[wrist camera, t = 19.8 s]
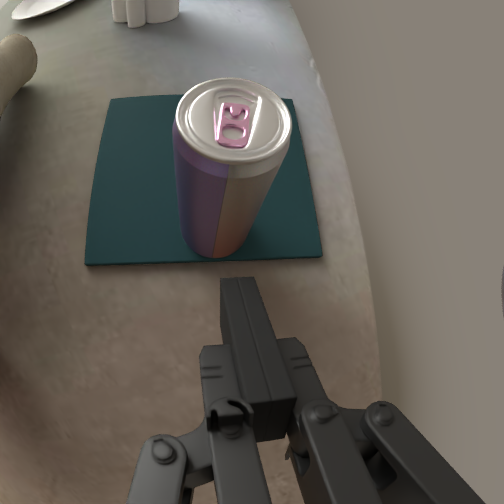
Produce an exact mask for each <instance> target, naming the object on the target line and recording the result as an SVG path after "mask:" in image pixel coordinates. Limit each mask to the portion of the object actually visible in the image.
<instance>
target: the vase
mask: <svg viewBox="0 0 504 504" xmlns="http://www.w3.org/2000/svg"><path fill="white" fill-rule="evenodd" d="M36 68H37V54H36V50H35V48H34V46H33V44H32V42H31V41H30V40H29V39H28V38H27V37H26V36H22V35H20V34H12V35H9V36H7V37H6V38H4V39H3V40H2V41H1V42H0V119H1V116H2V113H3V111H4V109H5V107H6V106H7V104H8V102H9V101H10V99H11V98H12V97H13V96H14V95H15V93H16V92H17V91H18V90H19V89H20V88H21V87H22V86H23V85H24V84H25V83H26V82H28V81H29V80H30V79H31V78H32V76H33V75H34V73H35V72H36Z"/></svg>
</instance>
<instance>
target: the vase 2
mask: <svg viewBox="0 0 504 504" xmlns="http://www.w3.org/2000/svg"><path fill="white" fill-rule="evenodd" d="M111 2H112V11H113V19H114V21H115V22H121V23H122V22H128V27H130V28H136V27H140V26H143V25H144V24H145V23H146V22H147V23H162V22H167V21H170V20H172V19H174V18H176V17H177V16H178V14H179V0H111Z"/></svg>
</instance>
